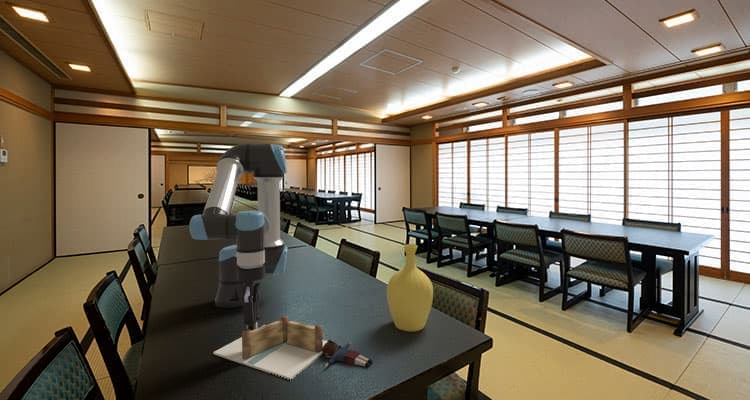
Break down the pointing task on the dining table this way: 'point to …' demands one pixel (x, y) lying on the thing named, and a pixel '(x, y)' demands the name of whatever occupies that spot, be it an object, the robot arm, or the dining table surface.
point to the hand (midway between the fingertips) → (252, 344)
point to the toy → (344, 354)
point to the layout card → (273, 358)
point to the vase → (410, 294)
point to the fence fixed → (306, 335)
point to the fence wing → (264, 337)
